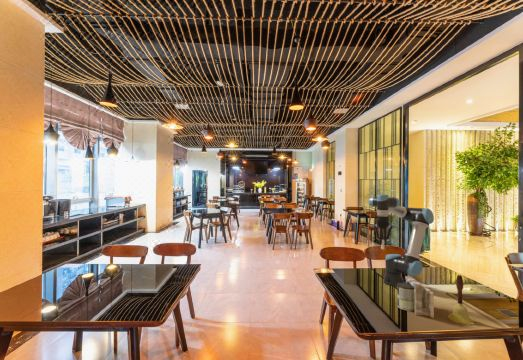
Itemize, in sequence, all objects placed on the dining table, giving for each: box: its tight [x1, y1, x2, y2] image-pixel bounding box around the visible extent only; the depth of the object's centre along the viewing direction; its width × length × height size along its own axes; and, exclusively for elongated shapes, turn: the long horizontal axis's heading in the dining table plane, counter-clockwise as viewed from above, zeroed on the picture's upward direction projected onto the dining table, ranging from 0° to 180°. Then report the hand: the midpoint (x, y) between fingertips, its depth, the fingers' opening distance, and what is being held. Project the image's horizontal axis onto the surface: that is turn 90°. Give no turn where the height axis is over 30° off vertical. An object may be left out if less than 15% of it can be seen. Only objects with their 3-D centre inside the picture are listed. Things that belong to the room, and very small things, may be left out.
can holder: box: [404, 275, 435, 319], centre depth 169 cm, size 20×9×18 cm, turn 169°
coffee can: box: [396, 281, 415, 312], centre depth 172 cm, size 10×10×14 cm
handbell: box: [447, 274, 474, 325], centre depth 157 cm, size 12×12×25 cm
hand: (382, 249), depth 194 cm, fingers closed
